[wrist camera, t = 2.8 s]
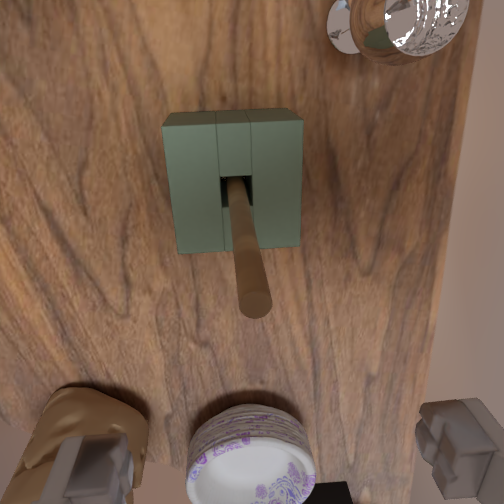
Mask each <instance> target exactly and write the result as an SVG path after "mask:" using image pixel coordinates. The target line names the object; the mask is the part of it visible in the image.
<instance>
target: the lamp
mask: <svg viewBox="0 0 504 504" xmlns="http://www.w3.org/2000/svg"><path fill="white" fill-rule="evenodd" d="M302 504H353V502H352V498H351V495H350V492H349V489H348V486H347V482H333V483H320V484H314V487H313V490H312V492H311V493H310V495H309V496H308V498H307V499H306V500H305V501H304V502H303V503H302Z"/></svg>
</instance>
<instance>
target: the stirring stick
mask: <svg viewBox="0 0 504 504" xmlns="http://www.w3.org/2000/svg"><path fill="white" fill-rule="evenodd" d="M226 183H227V193H228V202H229V212H230V222H231V232H232V242H233V252H234V262H235V272H236V282H237V291H238V301H239V309H240V311H241V312H242V313H243V314H244V315H245V316H246V317H249V318H253V319H257V318H261V317H264V316H265V315H267V314H268V313H269V312H270V310H271V308H272V298H271V294H270V290H269V285H268V281H267V277H266V273H265V269H264V264H263V260H262V256H261V252H260V248H259V243H258V239H257V235H256V231H255V227H254V222H253V218H252V214H251V210H250V206H249V201H248V197H247V193H246V189H245V185H244V180H243V176H228V177H226Z"/></svg>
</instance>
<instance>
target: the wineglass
mask: <svg viewBox="0 0 504 504" xmlns="http://www.w3.org/2000/svg"><path fill="white" fill-rule="evenodd" d="M468 6H469V0H336V1H335V2H334V3H333V5H332V7H331V8H330V11H329V13H328V17H327V34H328V38H329V40H330V42H331V44H332V45H333V46H334V47H335V48H336V49H337V50H338V51H340V52H342V53H345V54H357V53H361V54H363V55H364V56H365V57H366V58H367V59H369V60H371V61H373V62H375V63H378V64H381V65H385V66H399V65H406V64H409V63H413V62H416V61H419V60H421V59H423V58H426V57H428V56H430V55H432V54H433V53H435V52H437V51H438V50H440V49H441V48H443V47H444V46H445V45H446V44H448V43H449V42H450V41H451V40H452V38H453V37H454V36H455V35H456V34H457V32H458V31H459V29H460V27H461V25H462V24H463V22H464V19H465V17H466V14H467V11H468Z"/></svg>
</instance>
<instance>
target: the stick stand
mask: <svg viewBox="0 0 504 504" xmlns="http://www.w3.org/2000/svg"><path fill="white" fill-rule="evenodd" d="M161 130H162V138H163V145H164V153H165V160H166V168H167V175H168V183H169V190H170V198H171V206H172V213H173V221H174V228H175V236H176V243H177V251H178V254H192V253H207V252H222V251H233V242H232V232H231V222H230V212H229V202H228V193H227V183H226V181H221V182H220V177H228V176H246V180H244V185H245V189H246V193H247V197H248V201H249V206H250V210H251V214H252V218H253V222H254V227H255V231H256V235H257V239H258V243H259V248H260V249H268V248H283V247H298V246H300V233H301V199H302V164H303V130H304V120H303V119H302V118H300V117H299V116H297V115H296V114H295V113H293V112H292V111H291V110H289V109H288V108H271V109H248V110H225V111H216V112H215V111H203V112H180V113H171V114H170V115H169V117H168V118H167V119H166V121H165V122H164V124H163V125H162V126H161Z"/></svg>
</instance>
